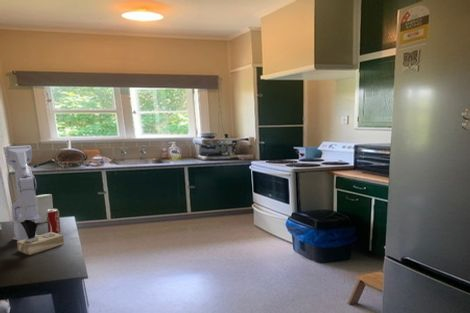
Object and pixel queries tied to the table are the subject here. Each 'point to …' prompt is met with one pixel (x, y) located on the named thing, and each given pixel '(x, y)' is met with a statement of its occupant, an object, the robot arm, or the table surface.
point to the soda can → (53, 221)
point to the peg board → (40, 244)
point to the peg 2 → (49, 235)
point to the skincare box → (44, 205)
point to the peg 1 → (31, 239)
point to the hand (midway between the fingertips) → (31, 237)
